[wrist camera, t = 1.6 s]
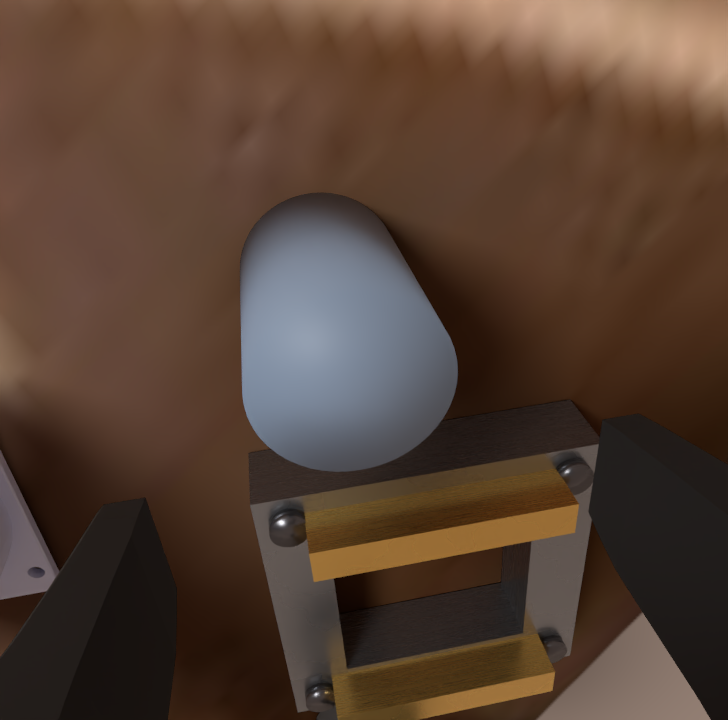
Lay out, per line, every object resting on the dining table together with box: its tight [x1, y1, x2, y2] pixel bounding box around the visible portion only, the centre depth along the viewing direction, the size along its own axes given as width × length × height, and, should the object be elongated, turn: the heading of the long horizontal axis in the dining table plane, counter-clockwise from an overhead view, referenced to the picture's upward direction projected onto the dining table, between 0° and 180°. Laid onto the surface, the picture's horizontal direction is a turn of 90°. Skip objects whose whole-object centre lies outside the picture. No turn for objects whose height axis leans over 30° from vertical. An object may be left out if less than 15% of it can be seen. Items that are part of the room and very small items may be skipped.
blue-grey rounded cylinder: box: [240, 193, 458, 472], centre depth 16 cm, size 4×4×6 cm
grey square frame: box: [249, 400, 600, 720], centre depth 23 cm, size 11×11×4 cm
